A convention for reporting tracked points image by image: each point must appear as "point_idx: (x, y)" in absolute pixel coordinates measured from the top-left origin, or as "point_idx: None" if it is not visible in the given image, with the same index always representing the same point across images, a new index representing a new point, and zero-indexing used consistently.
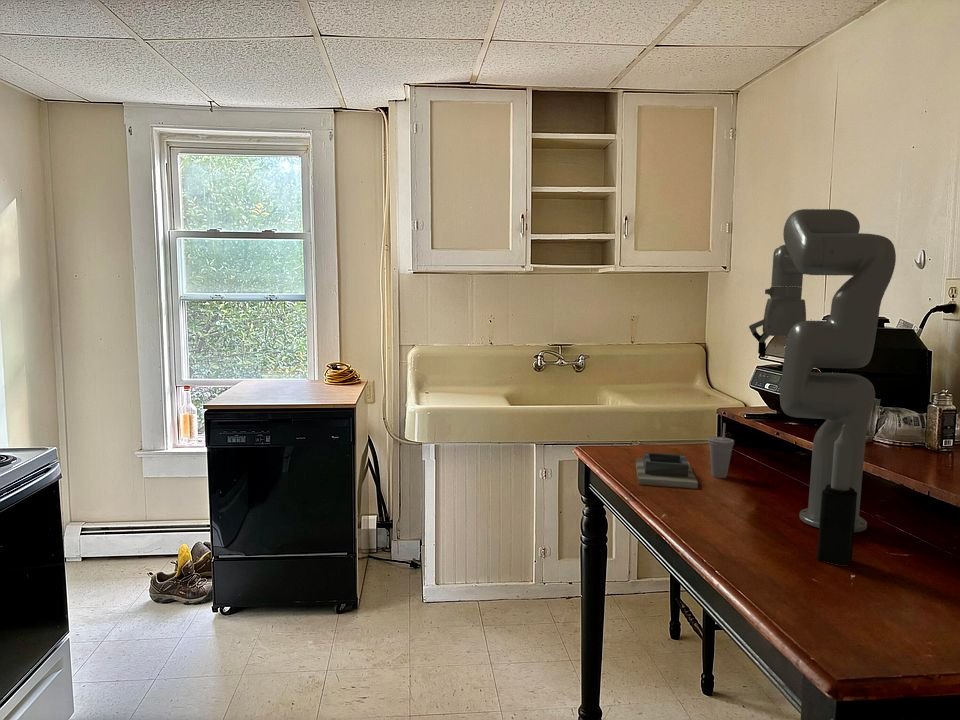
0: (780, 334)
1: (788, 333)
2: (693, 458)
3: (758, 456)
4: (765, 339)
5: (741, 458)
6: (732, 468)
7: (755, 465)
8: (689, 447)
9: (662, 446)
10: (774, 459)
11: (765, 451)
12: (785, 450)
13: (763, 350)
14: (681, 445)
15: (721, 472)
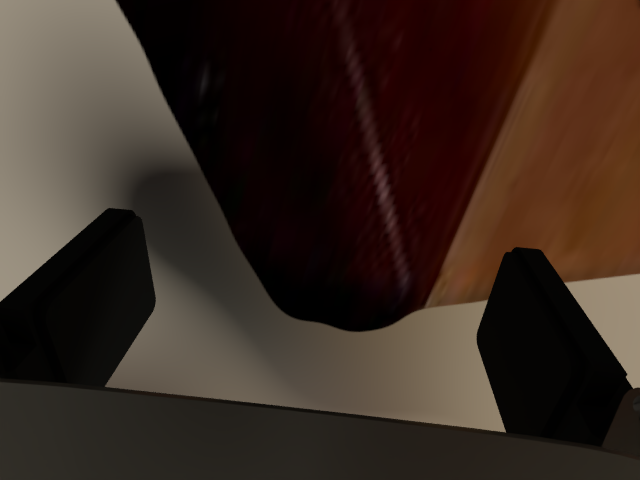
0: (413, 437)
1: (201, 448)
2: (569, 140)
3: (352, 198)
4: (616, 428)
5: (411, 167)
6: (490, 32)
7: (397, 89)
8: None
9: (601, 263)
10: (316, 173)
11: (316, 253)
12: (260, 270)
13: (562, 292)
14: None
15: None
